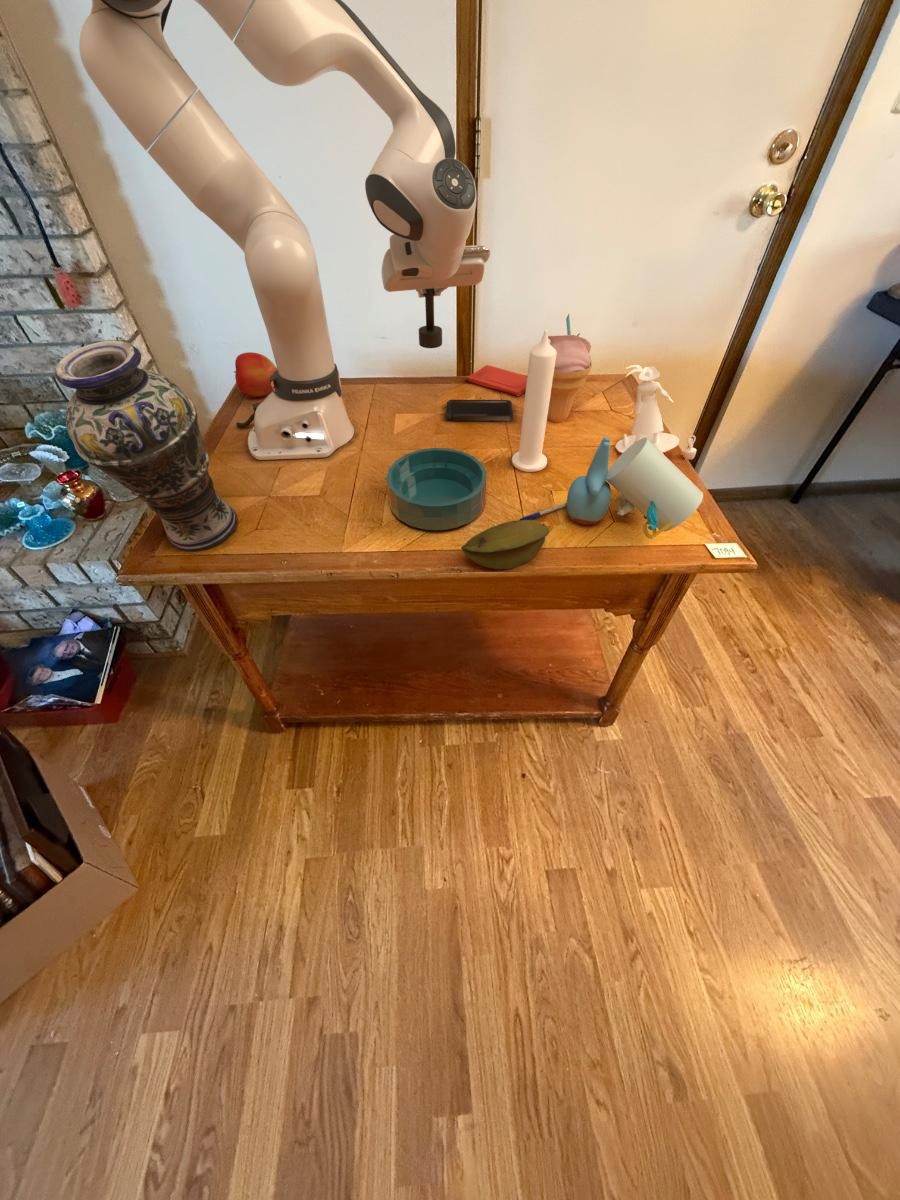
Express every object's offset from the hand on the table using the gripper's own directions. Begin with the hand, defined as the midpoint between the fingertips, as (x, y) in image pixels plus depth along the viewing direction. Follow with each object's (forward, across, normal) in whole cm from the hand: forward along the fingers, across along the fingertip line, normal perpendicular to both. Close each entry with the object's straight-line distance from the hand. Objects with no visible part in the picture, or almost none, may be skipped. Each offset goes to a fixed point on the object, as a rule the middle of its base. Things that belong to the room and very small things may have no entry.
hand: (428, 293), depth 104 cm
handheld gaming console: (+11, -23, +18) cm, 31 cm away
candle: (-9, -12, +40) cm, 43 cm away
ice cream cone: (+2, -25, +29) cm, 38 cm away
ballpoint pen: (-22, -9, +50) cm, 56 cm away
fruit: (-27, +1, +57) cm, 63 cm away
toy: (-33, -16, +42) cm, 56 cm away
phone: (+6, -8, +24) cm, 26 cm away
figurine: (-12, -39, +44) cm, 60 cm away
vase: (-12, +50, +43) cm, 67 cm away
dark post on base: (+6, 0, +7) cm, 10 cm away
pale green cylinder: (-30, -20, +46) cm, 58 cm away
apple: (+21, +35, +5) cm, 42 cm away
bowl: (-15, +9, +45) cm, 49 cm away
